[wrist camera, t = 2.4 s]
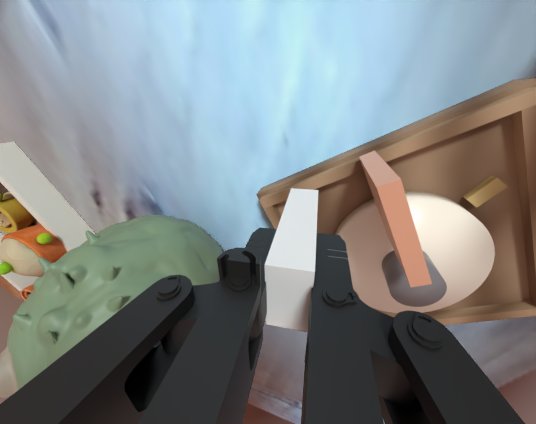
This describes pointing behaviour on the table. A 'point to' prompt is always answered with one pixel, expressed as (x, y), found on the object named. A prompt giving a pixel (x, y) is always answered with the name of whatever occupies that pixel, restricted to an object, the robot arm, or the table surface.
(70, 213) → the tea tray rim
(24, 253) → the toy tea set
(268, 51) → the table surface
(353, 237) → the dial
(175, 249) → the green monster figurine
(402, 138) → the brown wooden tray
